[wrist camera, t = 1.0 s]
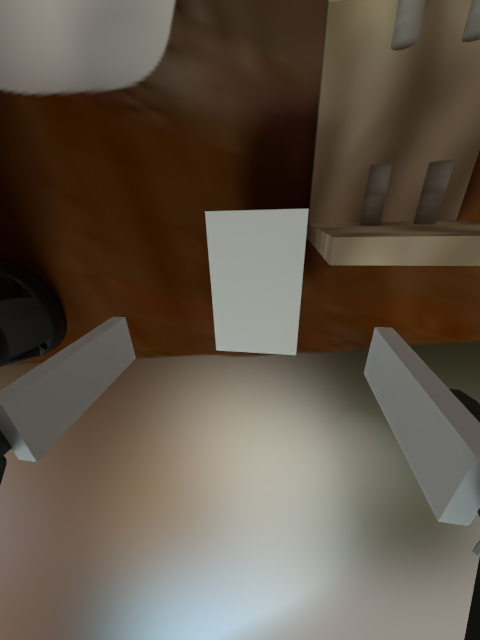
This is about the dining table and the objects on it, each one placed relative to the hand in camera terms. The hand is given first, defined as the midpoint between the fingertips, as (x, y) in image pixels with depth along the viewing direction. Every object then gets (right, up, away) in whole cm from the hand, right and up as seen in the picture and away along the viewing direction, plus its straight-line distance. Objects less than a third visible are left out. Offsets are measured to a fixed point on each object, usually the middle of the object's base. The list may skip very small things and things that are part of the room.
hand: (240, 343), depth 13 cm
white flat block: (+2, +5, +11) cm, 12 cm away
